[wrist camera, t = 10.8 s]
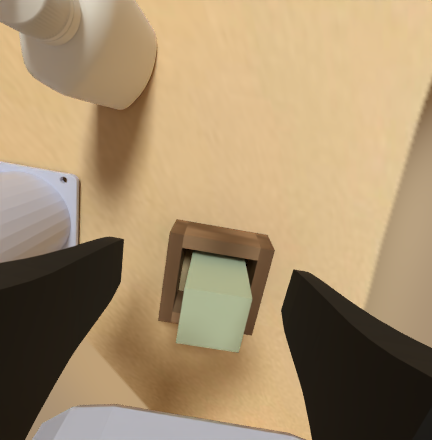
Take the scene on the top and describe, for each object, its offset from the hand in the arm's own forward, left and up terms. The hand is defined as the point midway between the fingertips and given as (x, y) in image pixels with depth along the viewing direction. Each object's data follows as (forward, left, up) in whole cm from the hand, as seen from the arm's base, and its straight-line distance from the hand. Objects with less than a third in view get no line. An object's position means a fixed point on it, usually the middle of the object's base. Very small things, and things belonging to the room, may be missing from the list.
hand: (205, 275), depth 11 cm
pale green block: (+1, -5, -11) cm, 12 cm away
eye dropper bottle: (-7, +9, -11) cm, 16 cm away
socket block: (+1, -5, -10) cm, 12 cm away
